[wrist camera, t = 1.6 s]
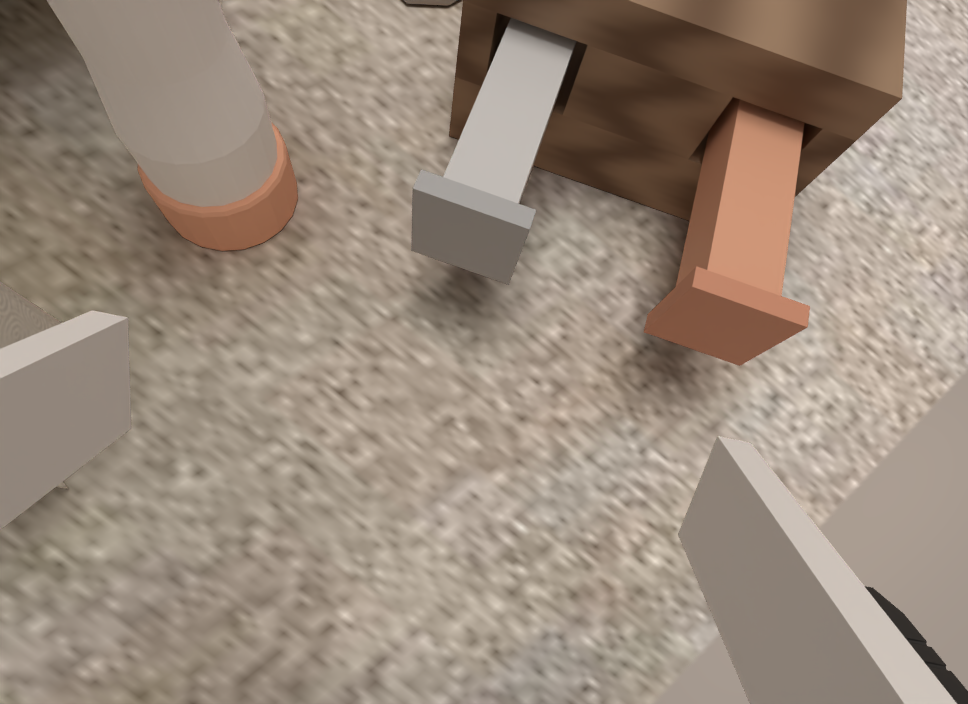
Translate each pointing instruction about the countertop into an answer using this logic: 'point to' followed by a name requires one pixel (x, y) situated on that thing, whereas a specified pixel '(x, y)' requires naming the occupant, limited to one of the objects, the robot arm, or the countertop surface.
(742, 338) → the plug terracotta
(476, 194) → the plug grey
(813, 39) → the block
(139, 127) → the salt shaker
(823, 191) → the countertop surface
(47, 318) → the paper towel roll
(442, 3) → the flask
